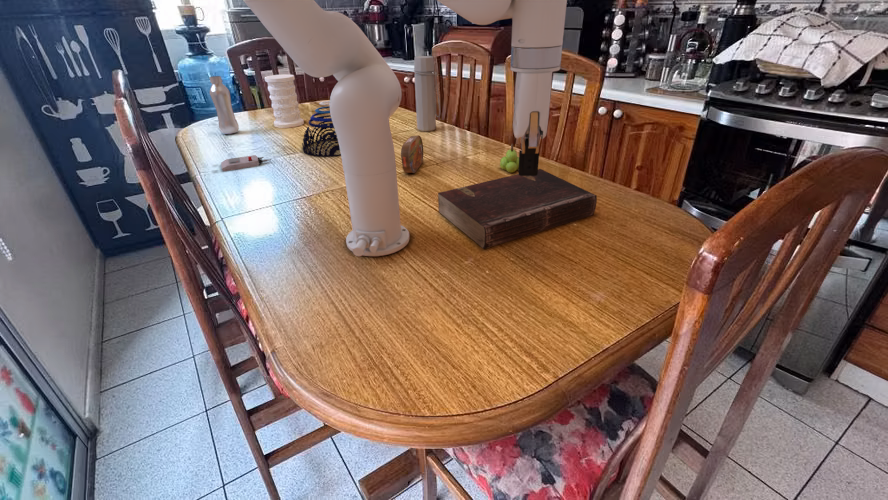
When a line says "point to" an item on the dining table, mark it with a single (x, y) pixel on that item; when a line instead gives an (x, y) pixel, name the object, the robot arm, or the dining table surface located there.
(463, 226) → the hardback book
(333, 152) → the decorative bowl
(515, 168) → the grapes
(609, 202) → the dining table surface
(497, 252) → the dining table surface
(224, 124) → the plastic bottle
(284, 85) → the decorative container
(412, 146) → the tin
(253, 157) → the moisture meter
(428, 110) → the water bottle
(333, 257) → the dining table surface
